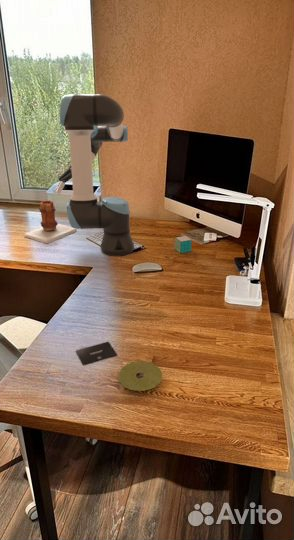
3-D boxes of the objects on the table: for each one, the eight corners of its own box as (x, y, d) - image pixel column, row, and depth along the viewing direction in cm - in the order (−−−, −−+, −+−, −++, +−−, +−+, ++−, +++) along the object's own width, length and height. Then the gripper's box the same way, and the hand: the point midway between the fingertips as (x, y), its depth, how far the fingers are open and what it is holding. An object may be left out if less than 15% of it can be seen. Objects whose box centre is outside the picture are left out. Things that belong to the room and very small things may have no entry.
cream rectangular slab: (76, 231, 203) (76, 228, 202) (47, 243, 188) (46, 240, 187) (54, 225, 211) (54, 222, 210) (24, 236, 196) (24, 233, 196)
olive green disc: (170, 384, 102) (171, 378, 101) (134, 403, 96) (134, 397, 95) (145, 361, 110) (145, 355, 109) (110, 377, 104) (110, 371, 103)
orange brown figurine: (40, 227, 203) (36, 198, 197) (56, 225, 206) (53, 197, 199) (43, 237, 191) (39, 207, 184) (60, 235, 193) (57, 205, 187)
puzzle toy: (180, 253, 177) (180, 241, 175) (174, 249, 182) (174, 237, 179) (191, 251, 179) (192, 239, 177) (185, 247, 184) (185, 235, 181)
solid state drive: (117, 356, 113) (117, 354, 112) (83, 366, 109) (82, 364, 108) (108, 343, 118) (108, 341, 118) (75, 352, 114) (75, 350, 114)
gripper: (107, 167, 203) (89, 202, 198) (71, 162, 215) (54, 195, 210) (100, 158, 196) (81, 194, 191) (63, 153, 209) (45, 187, 204)
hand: (67, 195), depth 201 cm, fingers open, 13 cm apart
